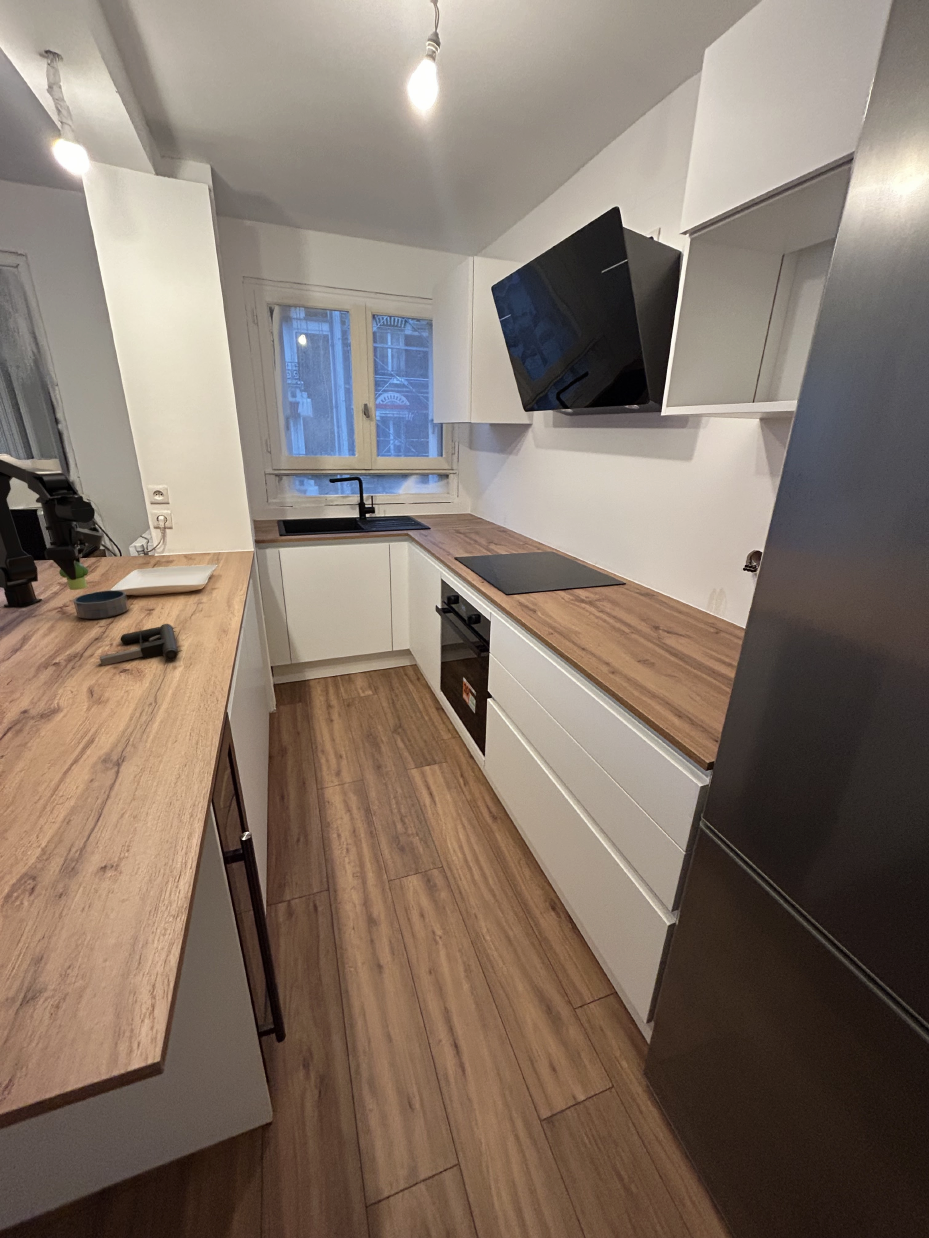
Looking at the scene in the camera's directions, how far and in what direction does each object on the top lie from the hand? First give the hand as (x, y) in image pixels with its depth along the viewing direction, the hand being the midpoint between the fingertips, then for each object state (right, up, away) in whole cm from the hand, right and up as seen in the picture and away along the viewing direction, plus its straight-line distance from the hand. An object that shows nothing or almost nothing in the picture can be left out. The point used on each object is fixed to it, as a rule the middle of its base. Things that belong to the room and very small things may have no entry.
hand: (75, 577), depth 134 cm
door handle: (+31, -20, -18) cm, 41 cm away
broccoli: (0, -3, +1) cm, 3 cm away
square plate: (+6, 0, +33) cm, 33 cm away
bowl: (+3, -10, +6) cm, 12 cm away
